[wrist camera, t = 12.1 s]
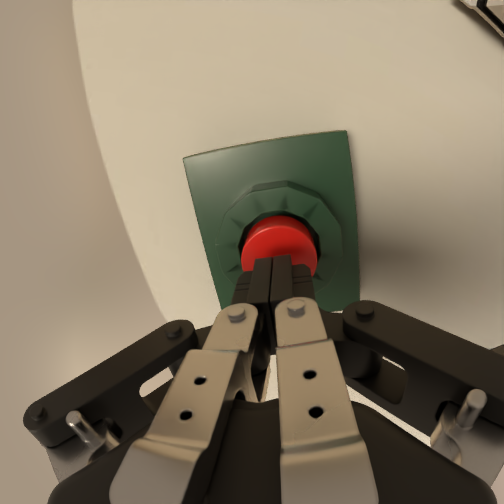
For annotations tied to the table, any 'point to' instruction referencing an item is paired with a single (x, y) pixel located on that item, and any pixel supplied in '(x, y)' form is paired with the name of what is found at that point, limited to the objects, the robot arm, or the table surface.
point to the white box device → (489, 12)
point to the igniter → (280, 207)
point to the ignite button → (279, 242)
